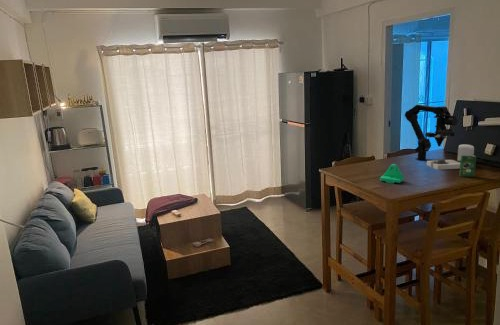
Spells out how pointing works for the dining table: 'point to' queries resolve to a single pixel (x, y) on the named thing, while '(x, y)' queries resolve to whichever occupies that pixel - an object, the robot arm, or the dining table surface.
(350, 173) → the dining table surface
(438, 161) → the cap
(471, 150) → the photo printer
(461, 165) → the coffee box
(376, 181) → the dining table surface
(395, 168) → the green peaked piece
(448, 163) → the board
